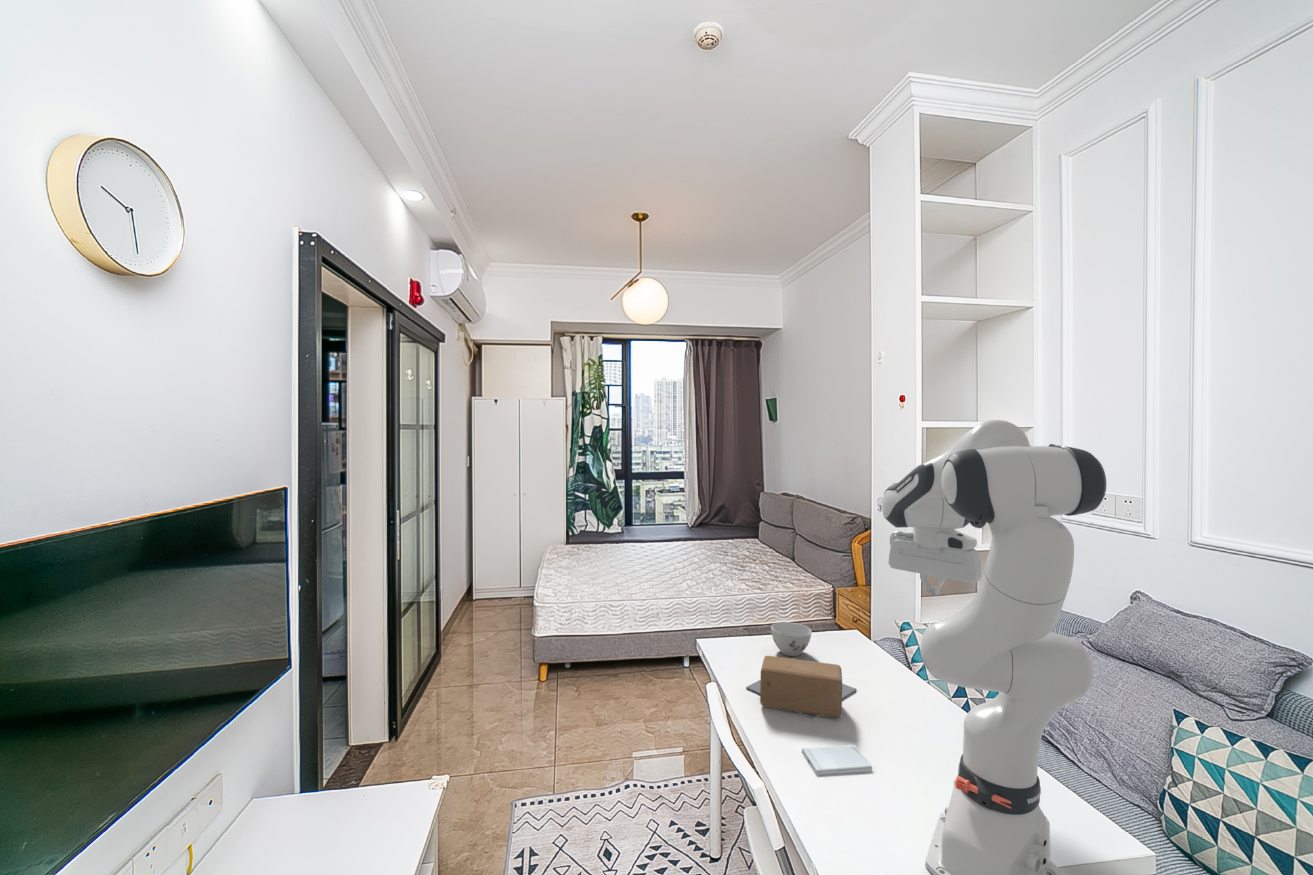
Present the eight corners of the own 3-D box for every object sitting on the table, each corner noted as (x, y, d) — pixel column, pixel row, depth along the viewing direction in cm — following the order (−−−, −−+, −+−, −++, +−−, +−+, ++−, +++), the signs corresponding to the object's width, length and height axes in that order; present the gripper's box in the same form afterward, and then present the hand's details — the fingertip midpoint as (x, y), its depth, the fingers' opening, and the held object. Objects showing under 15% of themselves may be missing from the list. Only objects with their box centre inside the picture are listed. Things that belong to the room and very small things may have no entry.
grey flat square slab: (813, 718, 140) (813, 716, 140) (746, 688, 156) (746, 686, 156) (856, 690, 155) (856, 688, 155) (791, 665, 171) (791, 664, 171)
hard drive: (854, 743, 128) (801, 746, 126) (872, 766, 120) (816, 769, 118) (853, 751, 128) (801, 754, 126) (872, 773, 120) (816, 777, 118)
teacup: (816, 661, 174) (816, 635, 174) (776, 661, 174) (776, 635, 174) (802, 641, 189) (802, 618, 189) (765, 641, 189) (765, 618, 189)
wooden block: (842, 680, 139) (760, 669, 144) (841, 720, 139) (759, 707, 145) (841, 663, 148) (764, 653, 154) (840, 701, 148) (763, 689, 154)
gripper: (884, 531, 140) (883, 587, 140) (975, 544, 125) (974, 606, 125) (895, 528, 144) (894, 582, 144) (984, 540, 129) (983, 600, 130)
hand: (932, 593), depth 135 cm, fingers closed
